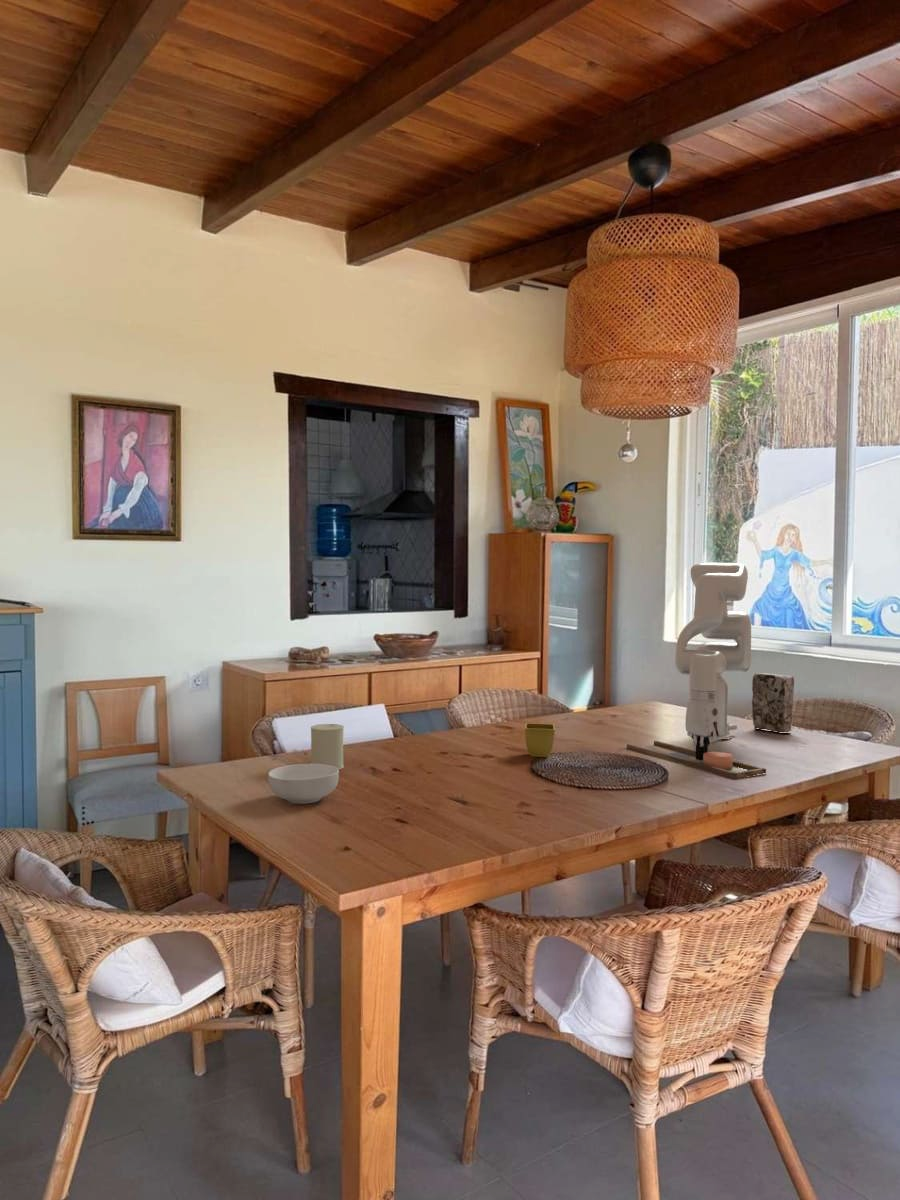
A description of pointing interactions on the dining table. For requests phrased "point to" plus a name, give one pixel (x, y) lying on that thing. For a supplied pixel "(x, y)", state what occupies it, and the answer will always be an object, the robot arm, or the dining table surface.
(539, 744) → the flower pot
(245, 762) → the dining table surface
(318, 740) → the can
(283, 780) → the cereal bowl
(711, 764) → the salmon rounded disc
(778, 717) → the stone block
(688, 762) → the trap lane
